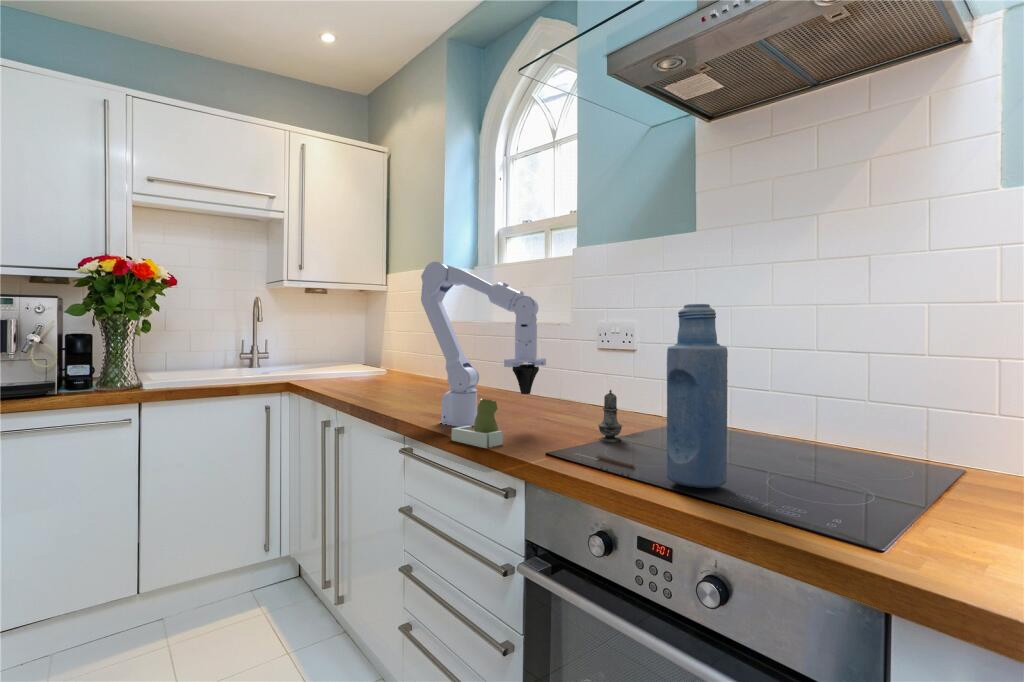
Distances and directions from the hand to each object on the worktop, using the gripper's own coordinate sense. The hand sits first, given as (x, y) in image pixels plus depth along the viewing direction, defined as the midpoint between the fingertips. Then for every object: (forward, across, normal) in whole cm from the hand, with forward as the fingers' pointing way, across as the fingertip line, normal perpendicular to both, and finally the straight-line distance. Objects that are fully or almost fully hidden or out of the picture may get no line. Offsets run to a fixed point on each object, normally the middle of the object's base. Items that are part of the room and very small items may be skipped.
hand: (525, 394), depth 140 cm
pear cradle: (+9, -18, -4) cm, 21 cm away
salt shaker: (+10, +4, -23) cm, 26 cm away
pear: (+10, -18, -4) cm, 21 cm away
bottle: (+10, -17, -54) cm, 57 cm away
